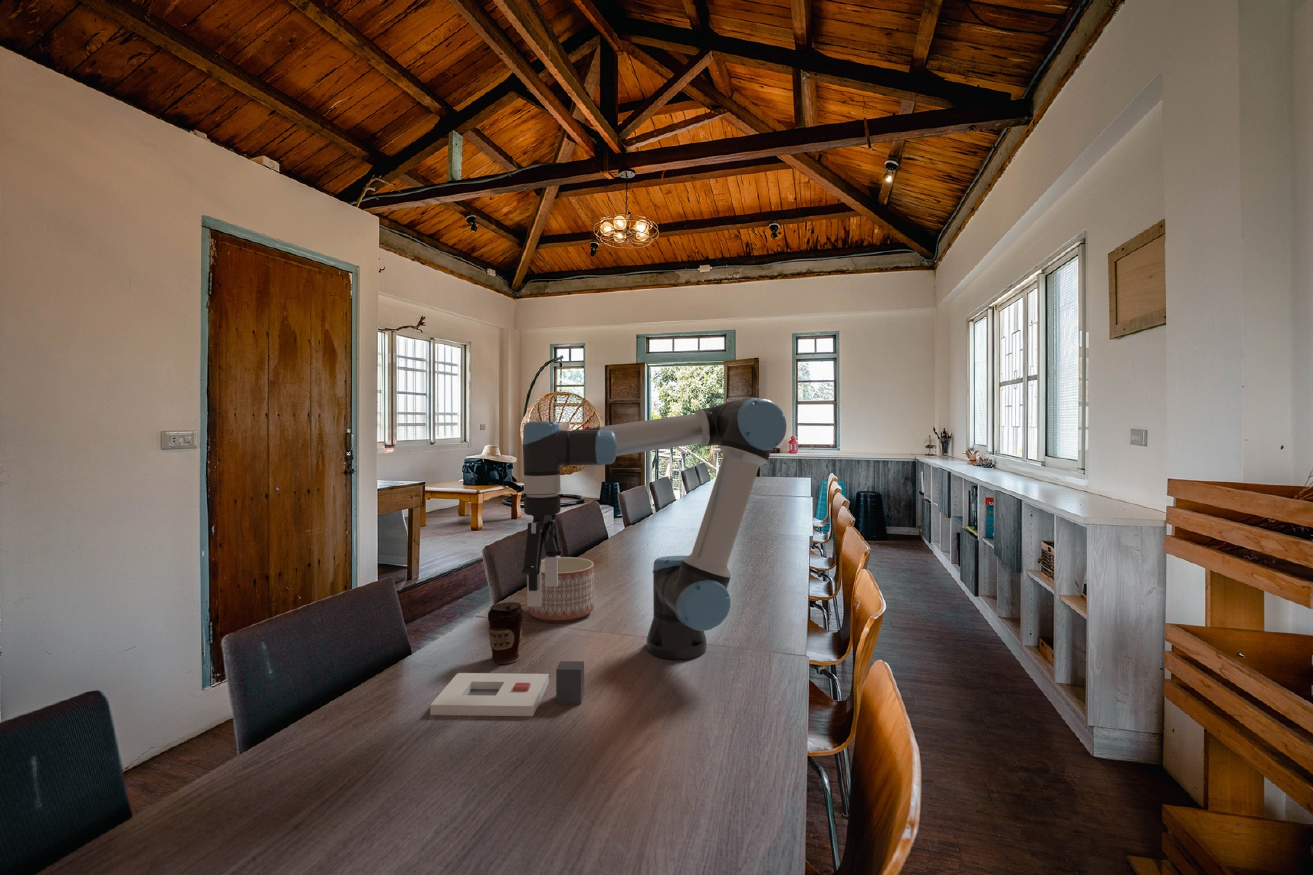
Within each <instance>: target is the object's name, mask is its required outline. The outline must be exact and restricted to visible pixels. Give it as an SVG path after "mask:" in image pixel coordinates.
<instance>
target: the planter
mask: <svg viewBox="0 0 1313 875" xmlns="http://www.w3.org/2000/svg"><path fill="white" fill-rule="evenodd" d="M557 557H558V586H557V587H545V558H542V561H541V567H540V573H541V578H542V606H528V613H529V615H531V616H532V617H535V618H536V619H538V620H539V621H542V622H547V623H555V624H556V623H559V624H560V623H571V622H574V621H578V620H580V619H584V618H585V617H586V616H587V615H588V614H591V613H592V612H593V610H594V609H595V563H594V562H593V561H592V560H590V559H587V558H582V557H573V556H572V557H571V556H563V557H561V556H557ZM532 567H533V566H532Z"/></svg>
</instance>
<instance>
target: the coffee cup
mask: <svg viewBox="0 0 1313 875" xmlns="http://www.w3.org/2000/svg"><path fill="white" fill-rule="evenodd" d="M489 608H490V609H489V611H488V612H487V620H488V625H489V626H488V635H489V646H490V649H491V654H492V656H491V661H492V662H493V663H495V664H501V665H502V664H503V665H504V664H512V663H516V662H517V661H519V660H520V654H519V646H520V643H521V641H522V634H523V619H524V614H525V609H523V608H522V604H521V603H519V602H517V601H516V602H514V601H513V602H512V601H511V602H510V601H509V602H502V603H495V604H492V605H491V606H490V607H489Z"/></svg>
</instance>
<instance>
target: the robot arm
mask: <svg viewBox="0 0 1313 875" xmlns="http://www.w3.org/2000/svg"><path fill="white" fill-rule="evenodd" d="M522 431H523V433H522V434H523V435H522V436H523V437H522V460H523V478H522V479H521V483H522V484H523V493H524V494H525V496H524V498H523V512H524V514H525V515H527V516H532V522H528V523H527V533H526V534H527V536H526V537H527V538H526V546H525V550H524V551H525V554H524V561H523V569H521V570H522V571H521V573H522V574H523V575H526V585H527V586H526V591H527V592H526V593H527V594H526V596H527V598H526V599H527V600H526V601H527V603H526V604H527V607H529V606H542V578H541V573H540V567H541V561H542V560H543V556H544V555H543V554H544V552H545V555H546V556H545V557H544V559H545V587H557V586H558V557H561V556H562V551H561V546H560V540H559V539H560V538H559V533H558V532H559V531H558V525H557V514H560V512H561V510H562V509H561V496H560V495H559V493H561V466H563V467H567V466H603V465H604V466H605V465H611V464H613V463H615V461H616V458H617V457H619V456H624V455H631V454H636V453H644V452H651V451H657V450H664V449H670V448H671V449H672V448H679V447H685V446H691V445H700V446H701V447H702V448H703V447H704V448H706V447H713V446H719V448H720V451H721V453H722V459H721V462H720V466H719V469H718V471H717V475H716V477H715V481H714V483H713V486H712V491H711V493H710V496H709V498H708V502H707V505H706V509H705V510H704V514H703V518H702V521H701V523H700V526H699V529H698V533H697V535H696V539H695V542H694V544H693V548H692V551H691V553H690V554H689V555H668V556H660V557H658V558H655V559H654V561H653V567H652V568H653V569H652V574H653V575H652V577H653V579H652V581H653V583H652V586H653V590H652V591H653V592H652V593H653V595H652V596H653V597H652V598H653V600H652V602H653V614H652V615H653V618H652V621H651V624H650V627H649V629H648V634H647V636H646V650H647V651H648V653H649V654H651V655H653V656H655V657H658V658H660V659H667V660H688V659H689V660H690V659H694V658H697V657H699V656H701V655H703V654H704V653H705V652H707V646H708V645H707V643H708V642H707V637H706V634H705V631H710V630H712V629H714V628H716V627H719V626H720V625H721V624H722V623H723V622H724V621H725V619H726V618H727V617H728V615H729V612H730V610H731V605H732V604H731V603H732V602H731V597H730V593H729V591H728V587H729V583H730V580H731V577H732V575H731V573H730V570H729V568H728V565H729V562H730V561H729V560H730V558H731V555H732V551H733V550H734V545H735V542H736V539H737V536H738V533H739V530H740V527H741V523H742V521H743V517H744V514H745V511H746V509H747V505H748V502H749V500H750V499H749V498H750V496H751V493H752V489H753V486H754V482H755V479H756V476H757V474H758V470H759V468H760V467H761V466H763V465H765V464H767V463H768V462H769V459H770V456H771V453H772V450H773V449H775V448H777V447H778V446H779V445H780V444H781V443H782V442H783V440H784V438H785V436H786V435H787V434H786V433H787V420H786V416H785V415H784V412H783V411H782V408H780V407H779V405H777V403H775V402H774V401H772V400H770V399H766V398H759V397H752V398H748V399H742V400H741V399H739V400H731V401H728V402H725V403H721V404H718V405H714V406H710V407H705V408H699V409H696V411H695V412H694V413H692V414H683V415H677V416H676V415H675V416H670V417H663V418H655V419H647V420H641V421H640V420H639V421H632V422H626V423H617V424H611V425H604V426H598V427H590V428H583V429H580V428H576V429H572V430H563V429H561V427H560V423H559V422H558V421H555V420H554V421H553V420H552V421H527V422H526V423H525V424H524V425H523V430H522ZM532 566H533V567H532Z"/></svg>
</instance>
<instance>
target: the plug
mask: <svg viewBox="0 0 1313 875" xmlns="http://www.w3.org/2000/svg"><path fill="white" fill-rule="evenodd" d="M555 671H556V672H555V678H556V679H555V680H556V681H555V683H556V684H555V685H556V686H555V687H556V688H555V689H556V692H555V693H556V695H555V697H556V698H555V699H556V700H555V702H556V705H582V702H583V700H584V696H585V661H584V660H583V661H579V660H578V661H574V660H567V661H565V660H564V661H563V660H560V661H559V663H558V665H557V668H556V669H555Z"/></svg>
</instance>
